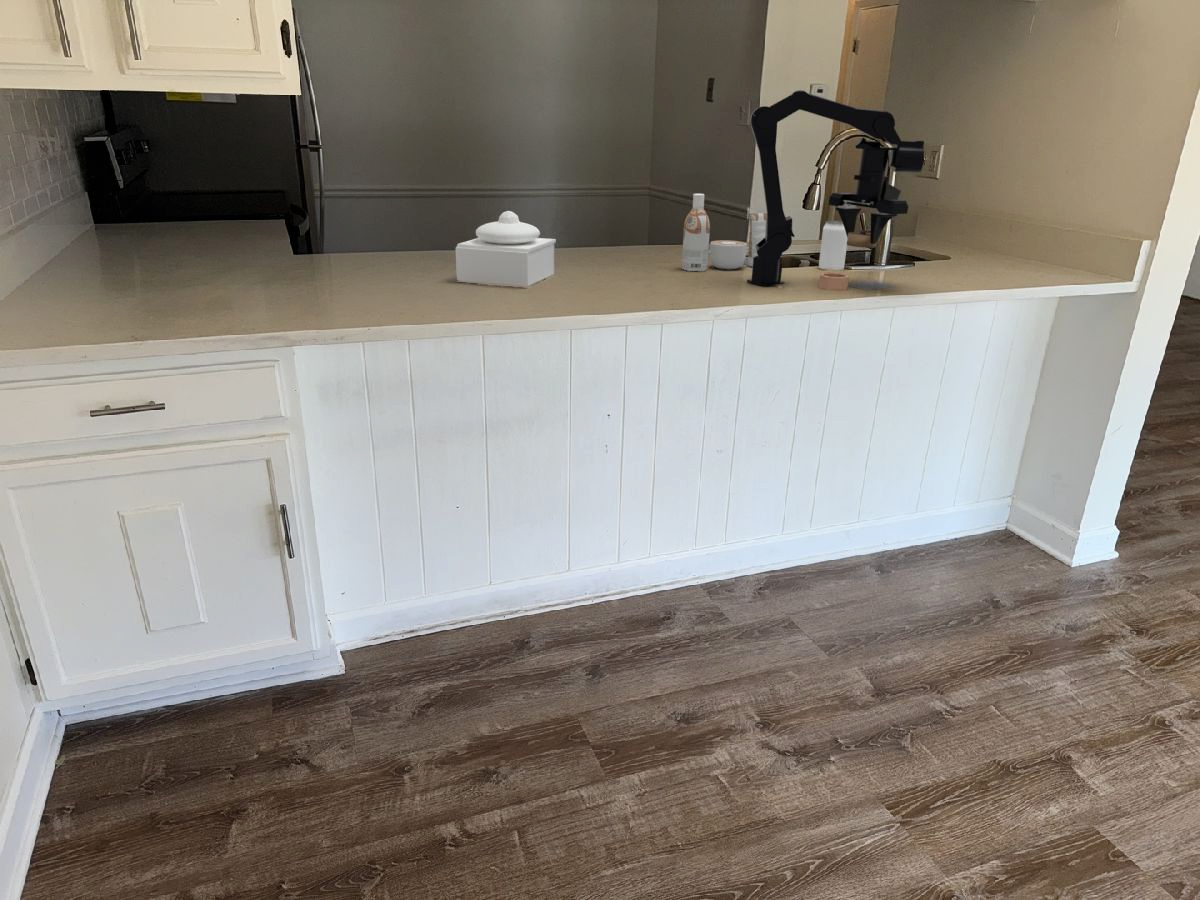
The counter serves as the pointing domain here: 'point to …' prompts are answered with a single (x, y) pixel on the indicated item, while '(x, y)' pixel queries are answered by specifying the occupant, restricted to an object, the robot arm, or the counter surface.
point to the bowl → (833, 281)
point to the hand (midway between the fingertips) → (861, 241)
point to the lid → (860, 239)
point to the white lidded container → (505, 254)
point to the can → (833, 246)
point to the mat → (870, 285)
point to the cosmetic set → (721, 251)
